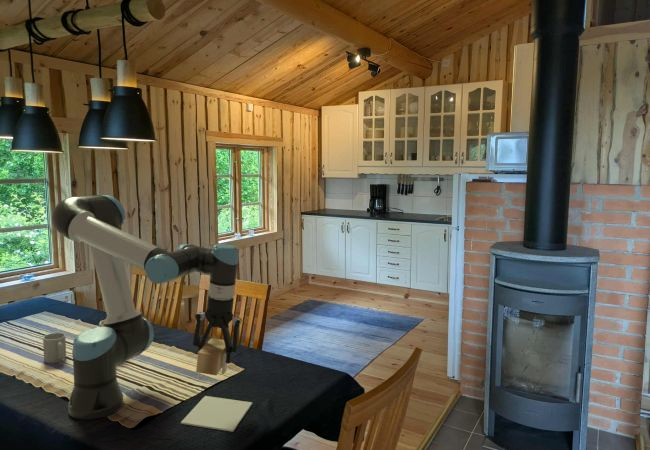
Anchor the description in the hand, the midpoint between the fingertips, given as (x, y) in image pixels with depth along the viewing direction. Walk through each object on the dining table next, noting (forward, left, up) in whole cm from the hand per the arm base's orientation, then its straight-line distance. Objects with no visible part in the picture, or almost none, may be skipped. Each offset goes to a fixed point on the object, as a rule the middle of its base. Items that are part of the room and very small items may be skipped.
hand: (213, 370), depth 144 cm
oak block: (+1, -7, +5) cm, 9 cm away
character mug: (-55, +28, -13) cm, 63 cm away
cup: (-70, +18, -13) cm, 73 cm away
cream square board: (+2, -1, -13) cm, 13 cm away
